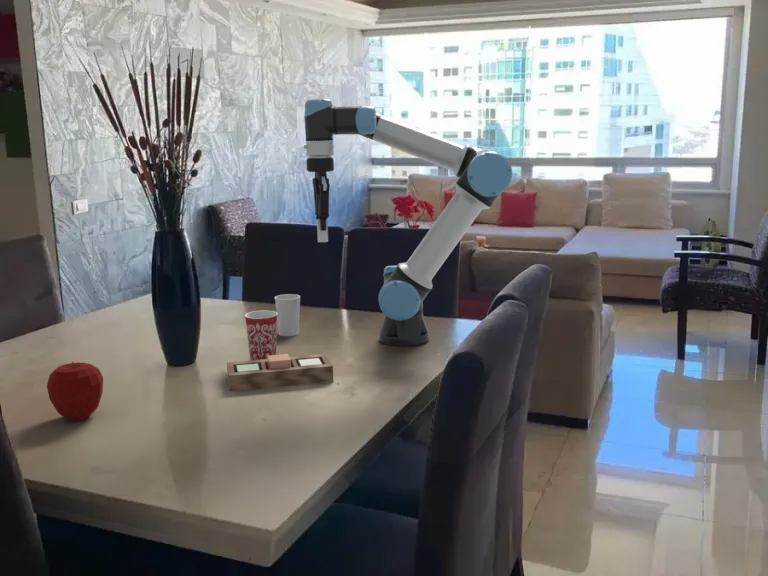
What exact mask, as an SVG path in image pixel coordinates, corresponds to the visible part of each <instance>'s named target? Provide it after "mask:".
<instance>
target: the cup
mask: <svg viewBox="0 0 768 576" xmlns="http://www.w3.org/2000/svg"><path fill="white" fill-rule="evenodd" d="M274 302H275V310H276V311H275V312H277V313H278V315H277V329H278V335H279V336H281V337H294V336H297V335H299V334H300V310H301V309H300V308H301V307H300V306H301V295H299V294H296V293H295V294H294V293H293V294H292V293H291V294H290V293H287V294H286V293H285V294H279V295H276V296H274Z"/></svg>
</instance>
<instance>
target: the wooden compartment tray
mask: <svg viewBox="0 0 768 576" xmlns="http://www.w3.org/2000/svg"><path fill="white" fill-rule="evenodd" d="M289 357H290V359H291V367H290V368H279V369H268V359H263V360H252V361H250V360H241V361H231V362H226V370H227V371H226V372H227V382H228V389H229V392H231V393H233V392H240V391H241V392H242V391H251V390H252V391H253V390H262V389H263V390H264V389H273V388H274V389H275V388H283V387H292V386H305V385H314V384H323V383H324V384H325V383H333V382H334V366H333V364H332V362H331V360H330V359H329V357H328V356H327V354H326V353H323V354H320V353H319V354H310V355H299V356H298V355H297V356H289ZM314 358H319V360H320V361H321V363H322V365H312V366H301V367H299V364H298V360H303V359H314ZM247 364H258V366H259V370H257V371H246V372H237V365H247Z"/></svg>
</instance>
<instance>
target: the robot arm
mask: <svg viewBox="0 0 768 576" xmlns="http://www.w3.org/2000/svg"><path fill="white" fill-rule="evenodd" d="M303 118H304V130H305V131H304V132H305V134H304V135H305V145H303V149H305V152H306V153H305V154H306V157H308V158H306V171H307V172H309V173H314V177H313V178H312V183H311V184H312V187H313V189H312V190H313V198H314V199H313V200H314V209H315V210H314V211H315V212H314V215H315V220H316V228H317V229H316V231H317V232H316V233H317V243H327V242H329V228H328V226H329V225H328V218H329V217H330V188H331V185H330V178H328V175H327V172H329V173H330V172H333V171H334V169H335V163H334V161H335V160H334V158H333V156H334V152H335V151H334V136H338V135H339V136H340V135H345V136H346V135H351V136H352V135H359V136H362V137H363V138H367V139H370V140H373V141H374V142H377V143H380V144H383V145H385V146H387V147H391V148H393V149H396V150H398V151H401V152H403V153H405V154H408V155H410V156H412V157H416V158H418V159H421V160H423V161H426V162H428V163H431V164H434V165H436V166H439V167H441V168H443V169H446V170H448V171H451V172H452V173H453V174H454V176H455V177H457V178H458V179H457V180H456V182H455V185H454V187H455V193H454V194H453V196H452V198H451V199H450V200H449V201H448V203H447V204H446V205H445V207H444V209H443V210H442V212H441V213H440V215H439V216H438V217H437V219H435V221H434V222H433V224H432V225H431V227H430V228H429V230H428V231H427V233H426V234H425V235H424V237H423V238H422V240H420V242H419V244H418V245H417V247H416V248H415V249H414V251H413V253H412V254H411V256H409V258H408V260H407V261H406V262H399V263H398V264H397V265H387V266H385V267H384V268H383V285H382V287H381V288H380V291H379V293H378V296H377V297H378V298H377V299H378V304H379V307H380V310H381V312H383V314H384V316H383V318H382V319H383V320H382V323H381V325H380V330H379V332H378V333H379V334H378V335H379V336H378V337H379V338H378V339H379V342H380V343H382V344H385V345H388V346H396V347H411V346H419V345H422V344H426V343H427V342H428V341H429V339H430V338H429V337H430V336H429V333H430V332H429V330H428V327H427V324H426V320H425V318H424V311H423V310H424V309H423V308H424V304H423V303H424V300H425V299H426V297H427V296H428V295H429V293H430V292H431V290H432V289H433V281H432V280H433V279H434V277H435V276H436V274H437V273H438V271H439V270H440V269H441V268H442V266H443V264H444V263H445V261H446V260H447V259H448V257H449V256H450V255H451V253H452V252H453V251H454V249H455V247H457V245H458V244H459V242H460V241H461V240H462V238H463V236H464V235H465V234H466V232H468V229H469V228H470V227H471V225H473V223H474V221H475V220H476V219H477V217H478V216H479V215H480V213H481V211H484V210H488V209H490V208H491V207H492V206H493V205H494V203H495V202H496V200H497V199H498V198H499V196H500V195H501V194H502V193H504V191H506V190H507V189H508V187H509V186H510V184H511V182H512V177H513V168H512V166H511V162H510V161H509V159H508V157H506V156H505V155H504V154H502V153H500V152H499V151H496V150H491V149H484V148H480V147H476V146H473V145H470V144H465V145H460V144H457V143H455V142H452V141H449V140H448V139H444V138H442V137H439V136H436V135H435V134H431V133H429V132H427V131H424V130H421V129H419V128H416V127H414V126H411V125H408V124H407V123H403V122H402V121H398V120H395V119H393V118H391V117H388V116H385V115H383V114H379V113H377V110H376V108H375V107H374V106H371V105H353V106H351V105H350V106H333V103H332V100H331V99H328V98H327V99H326V98H325V99H323V98H322V99H320V98H319V99H318V98H317V99H315V98H313V99H307V100H306V101H305V103H304V116H303Z"/></svg>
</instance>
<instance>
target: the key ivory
mask: <svg viewBox="0 0 768 576" xmlns="http://www.w3.org/2000/svg"><path fill="white" fill-rule="evenodd" d="M298 364H299V367H301V366H312V365H322V363H321V361H320V360H319V358H314V359H303V360H298Z"/></svg>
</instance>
